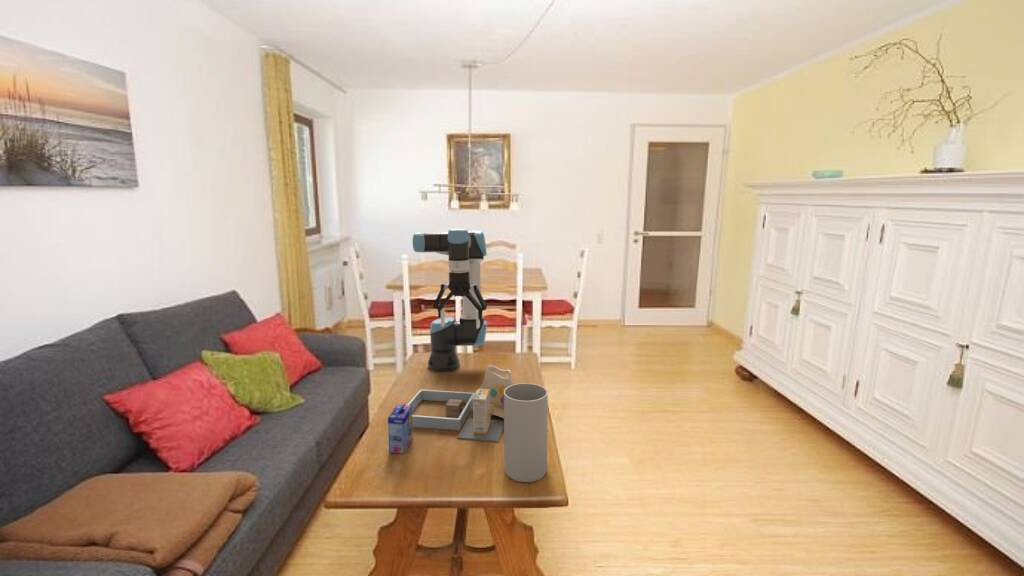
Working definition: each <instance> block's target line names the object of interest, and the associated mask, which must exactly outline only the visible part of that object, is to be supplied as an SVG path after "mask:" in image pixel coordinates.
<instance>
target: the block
mask: <svg viewBox="0 0 1024 576" xmlns="http://www.w3.org/2000/svg"><path fill="white" fill-rule="evenodd" d="M463 409H464V408H463V402H462V400H456V399H449V401H446V403H445V418H459V416H460V415H461V413H462V411H463Z"/></svg>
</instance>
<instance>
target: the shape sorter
mask: <svg viewBox="0 0 1024 576" xmlns="http://www.w3.org/2000/svg"><path fill="white" fill-rule="evenodd" d="M494 371H495V372H494ZM498 373H499V374H498ZM500 374H502V375H508V377H503V376H502V375H500ZM513 381H514V379H513V374H512V371H511V370H510V369H502V368H499V366H495V365H493V364H492V365H491V364H490V365H488V366H487V367H486V370H485V373H484V379H483V382H482V384H481V386H480V387H479V389H489V390H490V416H497V417H498V418H502V419H504V390H505V389H506V388H507V387H509V386H511V385H514V382H513Z"/></svg>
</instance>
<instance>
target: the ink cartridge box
mask: <svg viewBox="0 0 1024 576" xmlns="http://www.w3.org/2000/svg"><path fill="white" fill-rule="evenodd" d="M412 415H413V411H412V406H410V405H407V402H404V404H397V405H395V407H394V408H393V410H392V412H391V413H390V414H389V415H388V417H387V431H388V434H387V435H388V453H393V454H394V453H395V454H405V453H406V451H407V450H408V447H409V446H410V444H411V442H412V440H413V427H412Z"/></svg>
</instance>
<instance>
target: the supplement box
mask: <svg viewBox="0 0 1024 576" xmlns="http://www.w3.org/2000/svg"><path fill="white" fill-rule="evenodd" d="M474 393H475V395H474V397H473V408H472V418H473V430H474V434H487V432H488V429H489V426H490V423H491V420H492V419H491V413H490V390H489V389H480V388H477V389H476V391H475V392H474Z"/></svg>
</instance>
